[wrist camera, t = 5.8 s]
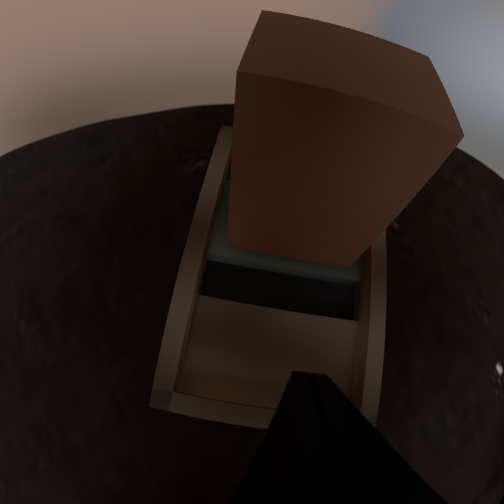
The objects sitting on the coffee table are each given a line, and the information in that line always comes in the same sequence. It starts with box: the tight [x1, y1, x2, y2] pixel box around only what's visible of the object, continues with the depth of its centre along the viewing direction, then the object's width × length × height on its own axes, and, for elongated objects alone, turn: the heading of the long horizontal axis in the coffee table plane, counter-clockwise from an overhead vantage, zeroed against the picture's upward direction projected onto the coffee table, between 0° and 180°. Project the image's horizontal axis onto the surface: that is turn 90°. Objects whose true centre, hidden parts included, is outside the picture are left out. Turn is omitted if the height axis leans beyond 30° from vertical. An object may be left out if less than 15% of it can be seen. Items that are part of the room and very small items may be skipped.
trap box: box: [149, 125, 387, 429], centre depth 14 cm, size 14×9×2 cm, turn 171°
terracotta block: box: [227, 10, 464, 269], centre depth 11 cm, size 4×6×9 cm
